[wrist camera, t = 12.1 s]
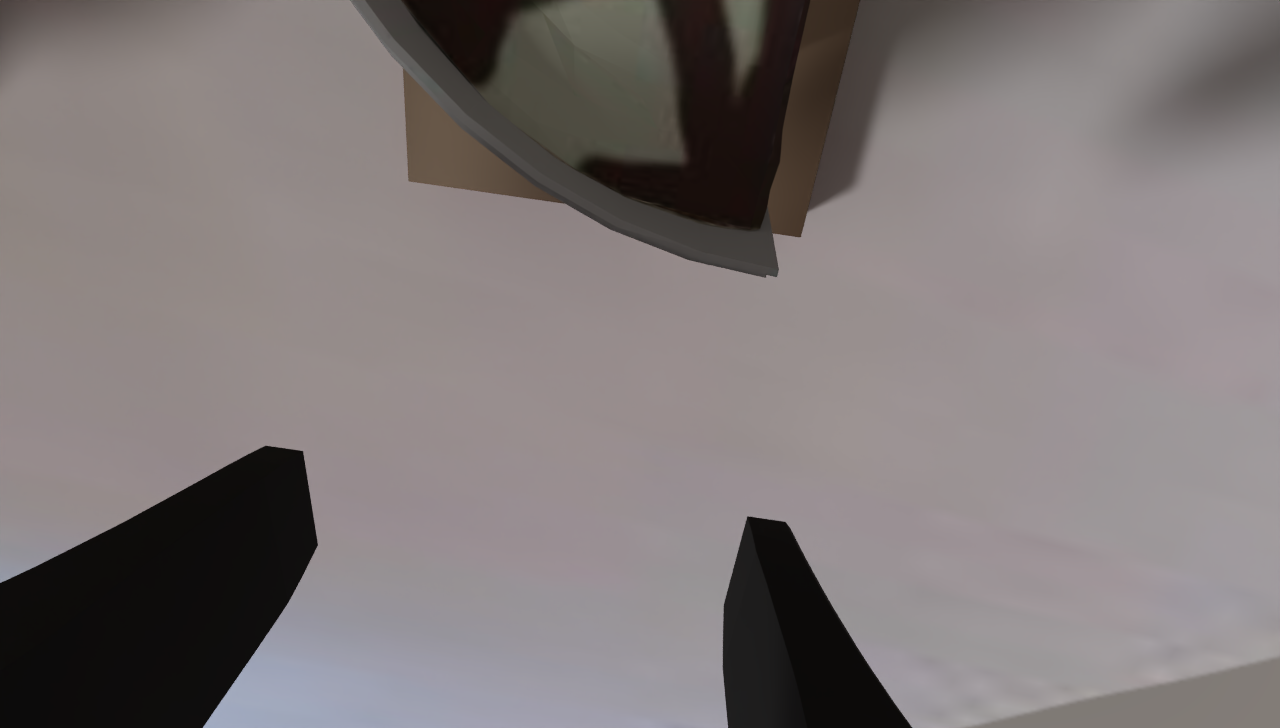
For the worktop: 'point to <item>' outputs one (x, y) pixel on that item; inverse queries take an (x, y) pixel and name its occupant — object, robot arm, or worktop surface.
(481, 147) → the walnut base
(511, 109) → the food container
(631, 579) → the worktop surface
